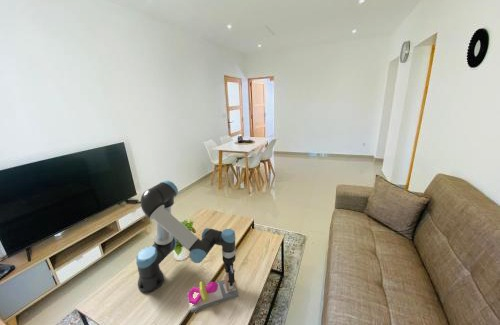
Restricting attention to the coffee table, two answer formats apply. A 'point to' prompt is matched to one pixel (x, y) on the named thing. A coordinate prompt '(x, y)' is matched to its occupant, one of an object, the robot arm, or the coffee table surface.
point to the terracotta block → (228, 283)
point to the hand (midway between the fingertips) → (229, 284)
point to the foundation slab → (216, 297)
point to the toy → (202, 292)
